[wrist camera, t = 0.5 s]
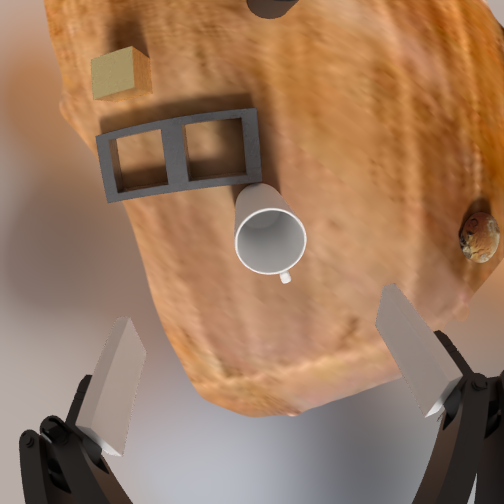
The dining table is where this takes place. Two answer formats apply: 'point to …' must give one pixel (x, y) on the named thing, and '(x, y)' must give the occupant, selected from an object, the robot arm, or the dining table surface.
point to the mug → (267, 231)
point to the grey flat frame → (178, 156)
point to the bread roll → (480, 237)
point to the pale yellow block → (121, 75)
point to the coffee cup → (270, 7)
